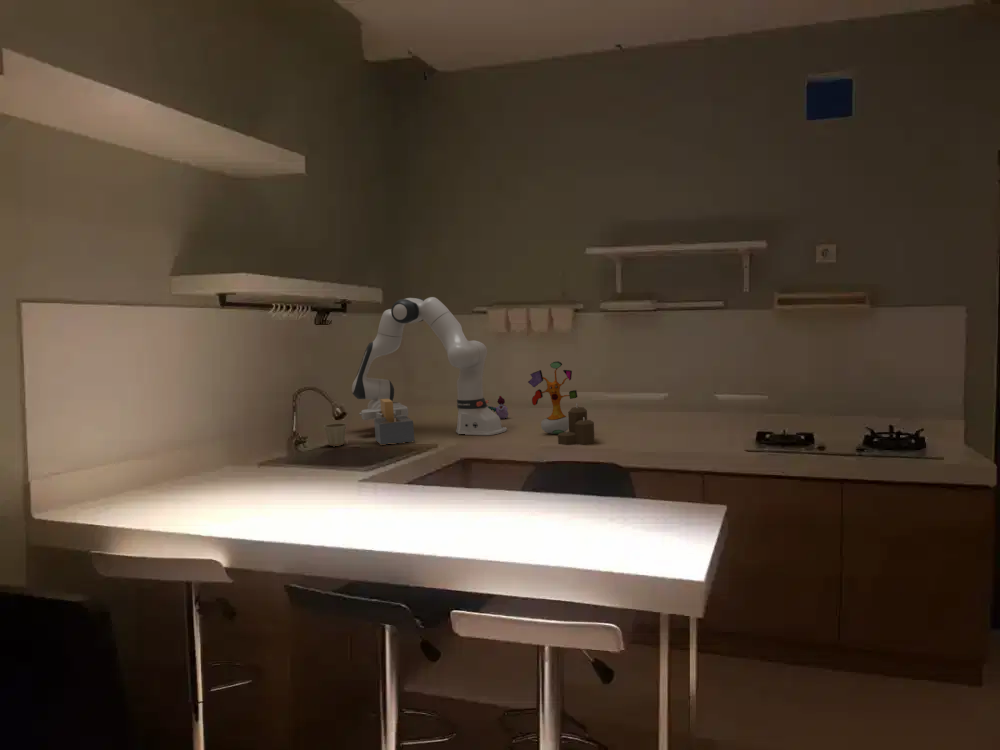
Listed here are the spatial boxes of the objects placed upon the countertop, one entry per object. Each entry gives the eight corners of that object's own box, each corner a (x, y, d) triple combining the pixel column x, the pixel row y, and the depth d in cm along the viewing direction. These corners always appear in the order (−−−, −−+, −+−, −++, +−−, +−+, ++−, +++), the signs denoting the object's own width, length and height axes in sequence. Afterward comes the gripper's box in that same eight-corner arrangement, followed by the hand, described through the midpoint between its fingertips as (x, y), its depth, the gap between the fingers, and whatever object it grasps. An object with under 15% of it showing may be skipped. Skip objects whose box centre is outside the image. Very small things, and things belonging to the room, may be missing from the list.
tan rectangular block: (382, 431, 365) (380, 399, 364) (390, 430, 366) (388, 398, 365) (386, 434, 356) (384, 402, 354) (394, 433, 357) (392, 401, 355)
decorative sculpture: (529, 435, 347) (525, 363, 344) (532, 432, 355) (529, 361, 352) (577, 435, 342) (574, 362, 339) (579, 431, 350) (576, 360, 347)
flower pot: (335, 442, 355) (334, 422, 354) (353, 444, 350) (351, 423, 349) (320, 447, 347) (318, 426, 346) (337, 448, 342) (336, 427, 341)
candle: (563, 438, 338) (561, 401, 337) (597, 438, 335) (595, 400, 333) (557, 445, 325) (555, 406, 324) (592, 445, 322) (591, 406, 320)
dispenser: (375, 441, 353) (374, 418, 352) (408, 437, 358) (406, 414, 357) (380, 446, 342) (379, 422, 341) (414, 442, 346) (412, 418, 345)
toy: (500, 432, 390) (514, 404, 388) (472, 419, 389) (485, 390, 388) (501, 429, 400) (514, 400, 399) (473, 415, 400) (486, 387, 398)
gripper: (357, 406, 369) (363, 410, 356) (403, 402, 375) (410, 406, 362) (358, 420, 370) (364, 425, 357) (404, 416, 376) (411, 420, 363)
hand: (387, 415), depth 359 cm, fingers closed on tan rectangular block, 3 cm apart
